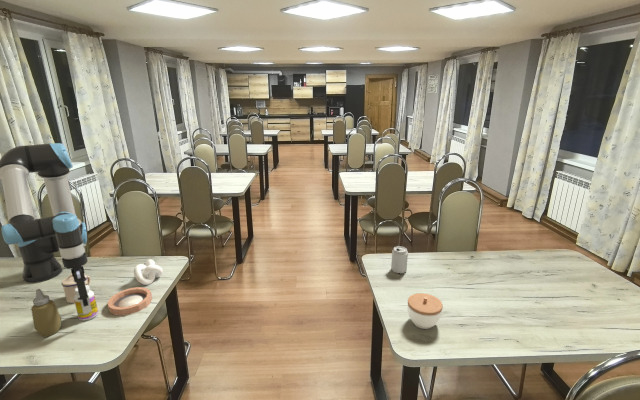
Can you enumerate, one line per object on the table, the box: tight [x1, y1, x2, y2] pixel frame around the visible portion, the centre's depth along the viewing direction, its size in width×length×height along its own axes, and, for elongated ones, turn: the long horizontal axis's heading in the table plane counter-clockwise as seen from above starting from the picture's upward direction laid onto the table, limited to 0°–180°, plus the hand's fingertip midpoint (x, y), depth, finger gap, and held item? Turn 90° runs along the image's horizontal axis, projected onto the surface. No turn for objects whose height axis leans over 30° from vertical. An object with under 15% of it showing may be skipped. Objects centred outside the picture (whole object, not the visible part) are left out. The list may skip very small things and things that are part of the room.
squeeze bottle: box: [31, 288, 62, 337], centre depth 127 cm, size 8×8×18 cm
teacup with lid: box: [61, 273, 91, 304], centre depth 150 cm, size 12×9×12 cm
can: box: [390, 245, 409, 274], centre depth 169 cm, size 8×8×12 cm
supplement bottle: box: [74, 284, 99, 322], centre depth 136 cm, size 7×7×13 cm
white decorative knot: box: [133, 258, 164, 286], centre depth 162 cm, size 11×12×9 cm
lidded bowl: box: [407, 293, 443, 330], centre depth 131 cm, size 13×13×11 cm
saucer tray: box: [107, 286, 153, 316], centre depth 146 cm, size 16×16×3 cm
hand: (85, 304), depth 136 cm, fingers open, 13 cm apart
